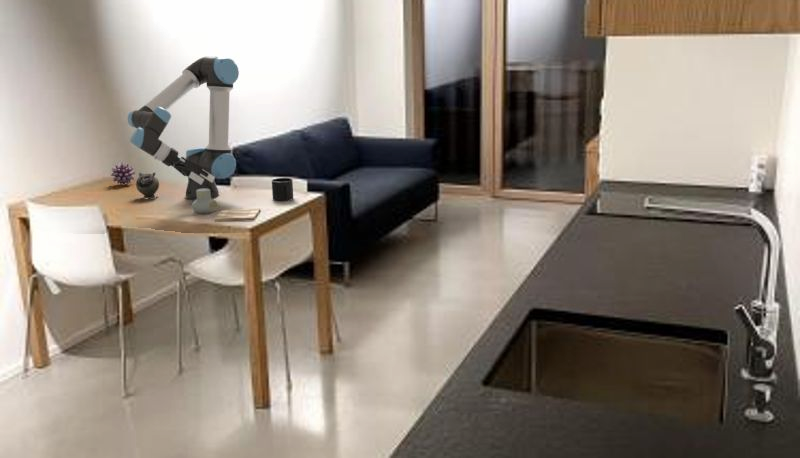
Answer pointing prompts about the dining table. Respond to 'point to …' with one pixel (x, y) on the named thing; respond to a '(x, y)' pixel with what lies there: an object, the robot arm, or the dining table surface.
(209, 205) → the air freshener
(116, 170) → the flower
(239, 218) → the coaster board
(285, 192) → the mug
